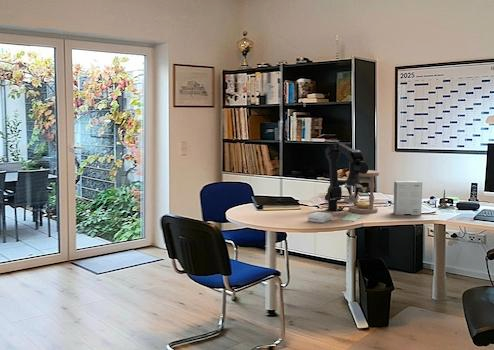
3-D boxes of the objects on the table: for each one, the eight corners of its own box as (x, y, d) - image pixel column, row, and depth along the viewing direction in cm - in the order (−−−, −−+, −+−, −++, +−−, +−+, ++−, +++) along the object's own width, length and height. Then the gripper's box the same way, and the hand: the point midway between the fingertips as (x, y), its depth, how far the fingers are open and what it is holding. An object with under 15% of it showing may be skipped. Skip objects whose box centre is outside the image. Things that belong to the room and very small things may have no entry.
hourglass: (383, 212, 325) (384, 172, 322) (359, 214, 319) (360, 173, 316) (366, 207, 342) (368, 169, 339) (343, 209, 335) (344, 170, 332)
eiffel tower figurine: (437, 210, 337) (438, 189, 335) (428, 207, 346) (429, 187, 345) (458, 209, 340) (459, 189, 338) (449, 207, 349) (450, 187, 348)
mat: (348, 214, 318) (348, 214, 318) (362, 215, 315) (362, 215, 315) (340, 220, 302) (340, 219, 302) (354, 221, 299) (354, 220, 299)
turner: (350, 198, 315) (350, 193, 315) (360, 199, 313) (360, 194, 313) (343, 201, 302) (343, 196, 302) (354, 202, 299) (354, 197, 299)
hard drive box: (418, 213, 325) (420, 180, 323) (421, 215, 317) (422, 182, 315) (392, 212, 327) (394, 180, 324) (394, 214, 319) (396, 182, 317)
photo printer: (332, 213, 301) (322, 216, 291) (332, 220, 301) (322, 224, 291) (316, 211, 306) (305, 214, 296) (315, 218, 307) (305, 221, 297)
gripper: (334, 172, 305) (333, 199, 306) (367, 174, 297) (366, 201, 299) (339, 170, 315) (339, 196, 316) (371, 172, 307) (370, 198, 309)
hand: (353, 198), depth 310 cm, fingers closed on turner, 2 cm apart
